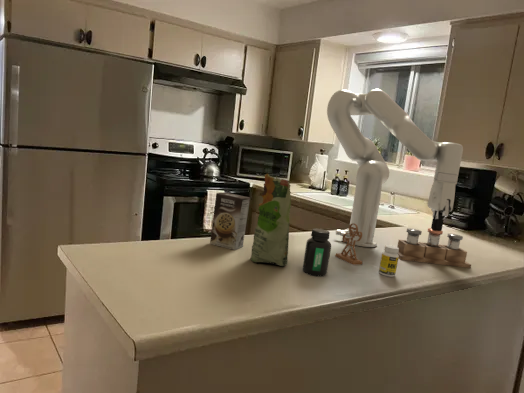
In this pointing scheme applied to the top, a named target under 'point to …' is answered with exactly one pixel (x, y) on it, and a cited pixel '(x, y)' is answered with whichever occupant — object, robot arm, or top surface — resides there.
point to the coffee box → (229, 220)
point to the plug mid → (433, 238)
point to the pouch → (273, 223)
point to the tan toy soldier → (343, 254)
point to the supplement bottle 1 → (317, 253)
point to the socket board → (432, 254)
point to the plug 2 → (454, 241)
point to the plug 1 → (413, 236)
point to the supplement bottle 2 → (389, 261)
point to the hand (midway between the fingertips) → (436, 229)
